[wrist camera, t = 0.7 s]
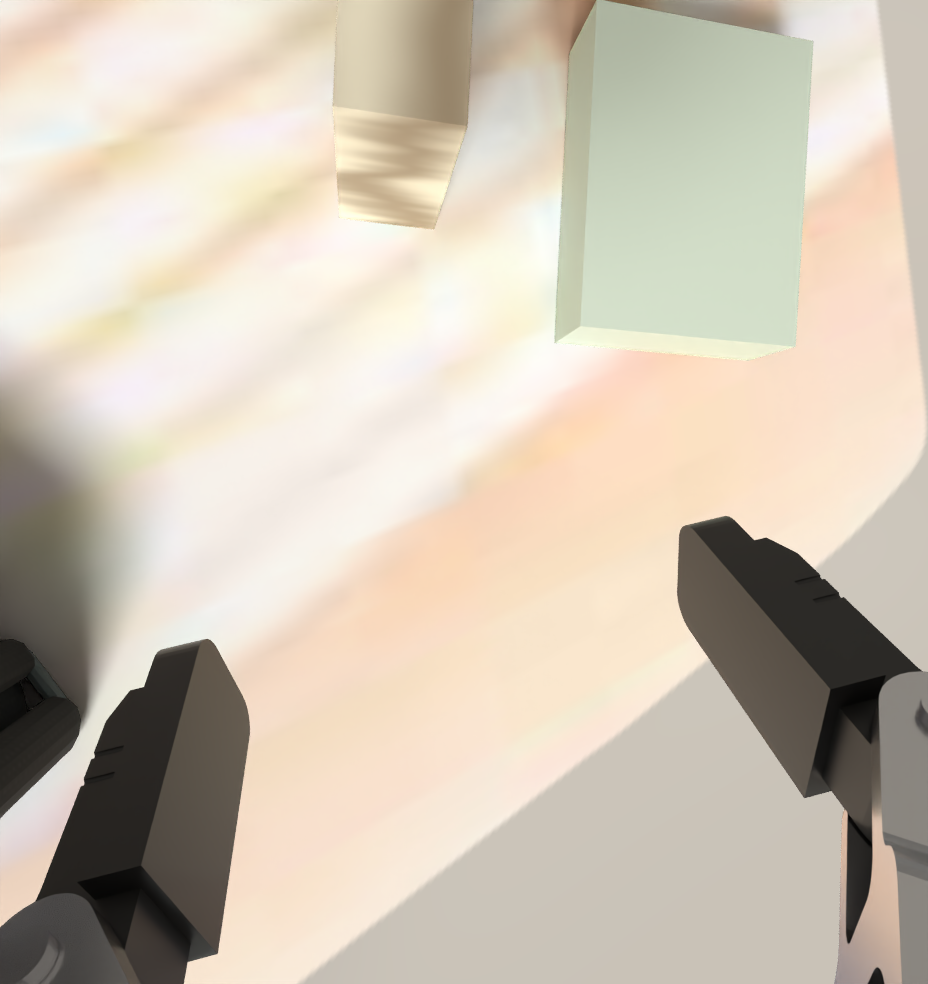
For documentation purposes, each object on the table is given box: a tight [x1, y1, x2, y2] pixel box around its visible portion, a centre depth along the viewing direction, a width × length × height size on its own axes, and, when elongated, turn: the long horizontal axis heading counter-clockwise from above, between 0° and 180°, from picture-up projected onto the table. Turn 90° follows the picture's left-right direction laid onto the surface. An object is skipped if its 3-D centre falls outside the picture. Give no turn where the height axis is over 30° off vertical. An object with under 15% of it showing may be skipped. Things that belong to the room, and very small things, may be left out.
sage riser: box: [555, 0, 813, 361], centre depth 33 cm, size 16×12×4 cm
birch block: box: [333, 0, 473, 229], centre depth 28 cm, size 5×5×10 cm
